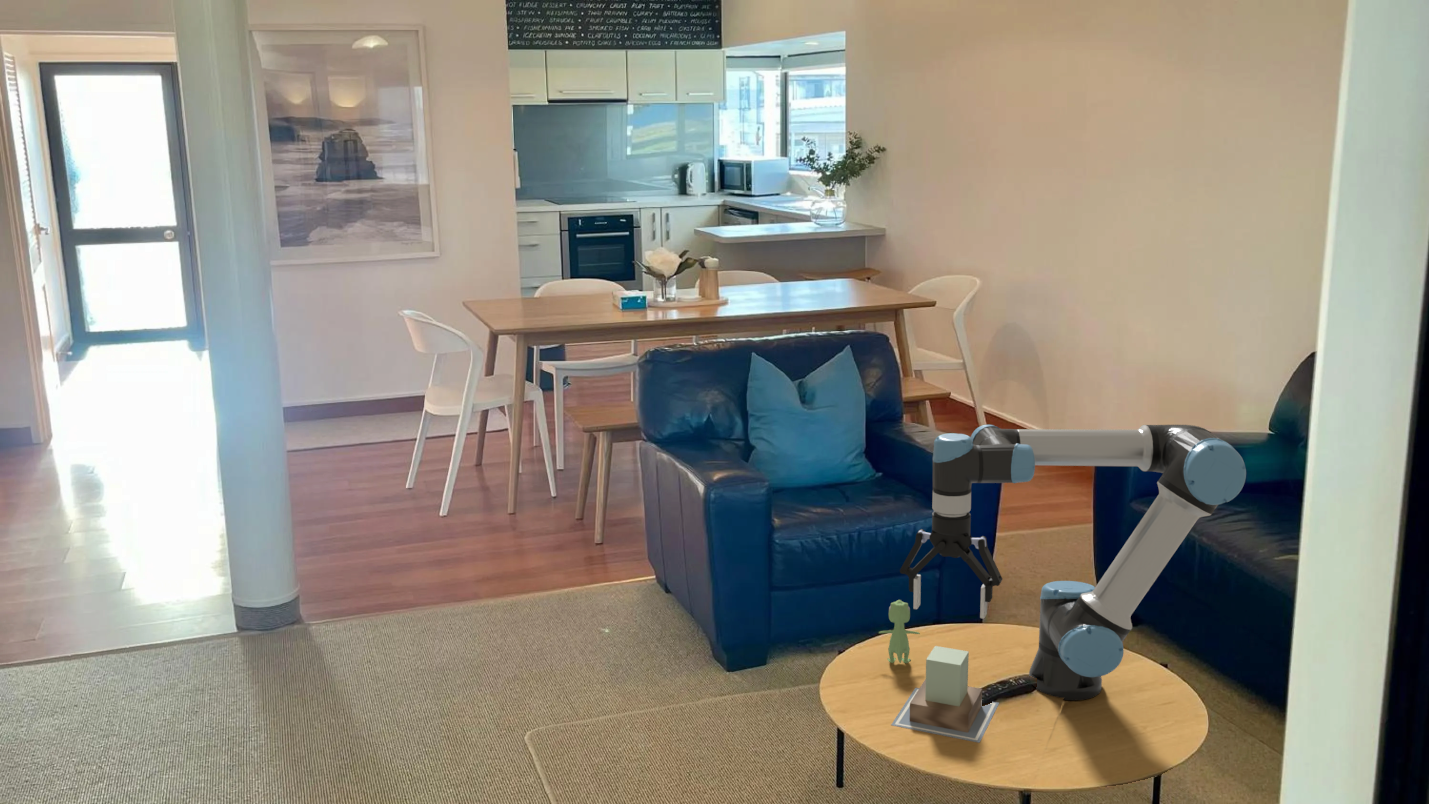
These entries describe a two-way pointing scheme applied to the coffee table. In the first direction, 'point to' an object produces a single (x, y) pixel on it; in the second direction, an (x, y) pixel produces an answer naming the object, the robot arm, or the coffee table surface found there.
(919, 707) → the foundation block
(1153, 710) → the coffee table surface
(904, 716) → the grey square plate
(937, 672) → the sage block
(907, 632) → the toy
